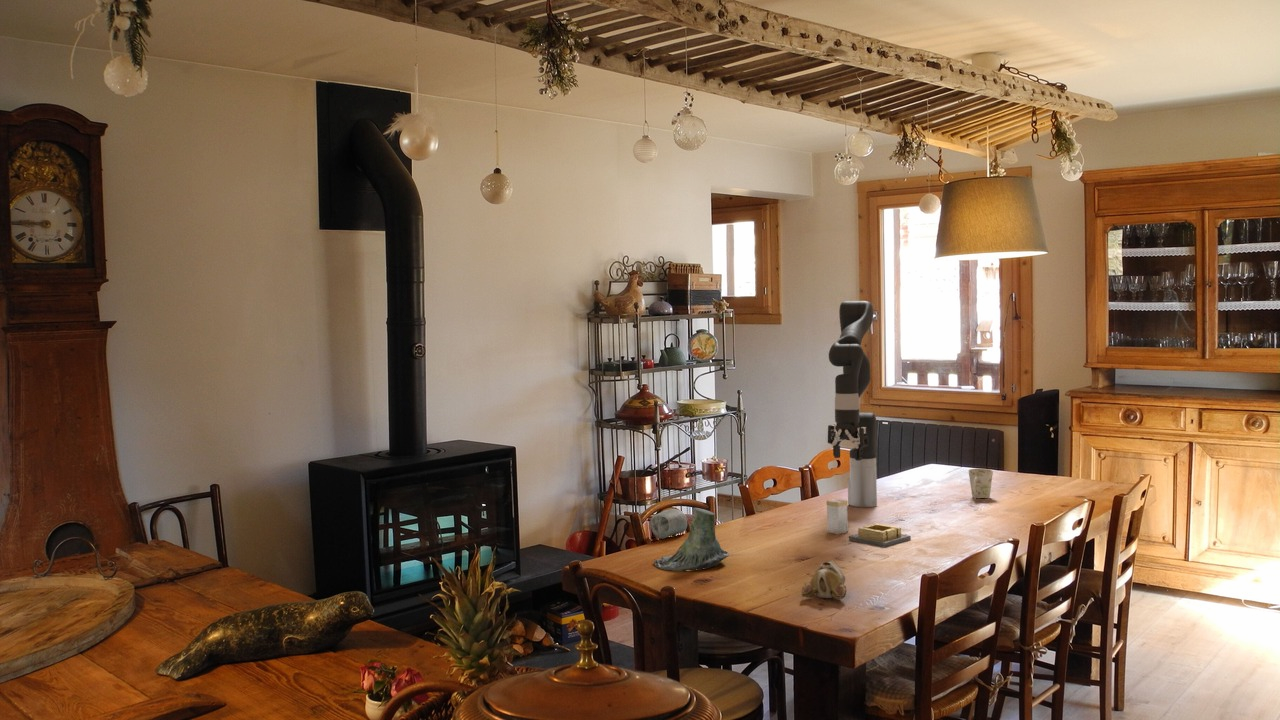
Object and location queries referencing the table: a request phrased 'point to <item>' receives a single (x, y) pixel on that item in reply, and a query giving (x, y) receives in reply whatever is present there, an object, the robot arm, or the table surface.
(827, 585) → the ceramic sculpture
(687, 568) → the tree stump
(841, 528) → the white upright block
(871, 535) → the fitting socket
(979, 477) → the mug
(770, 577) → the table surface
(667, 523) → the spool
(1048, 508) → the table surface
